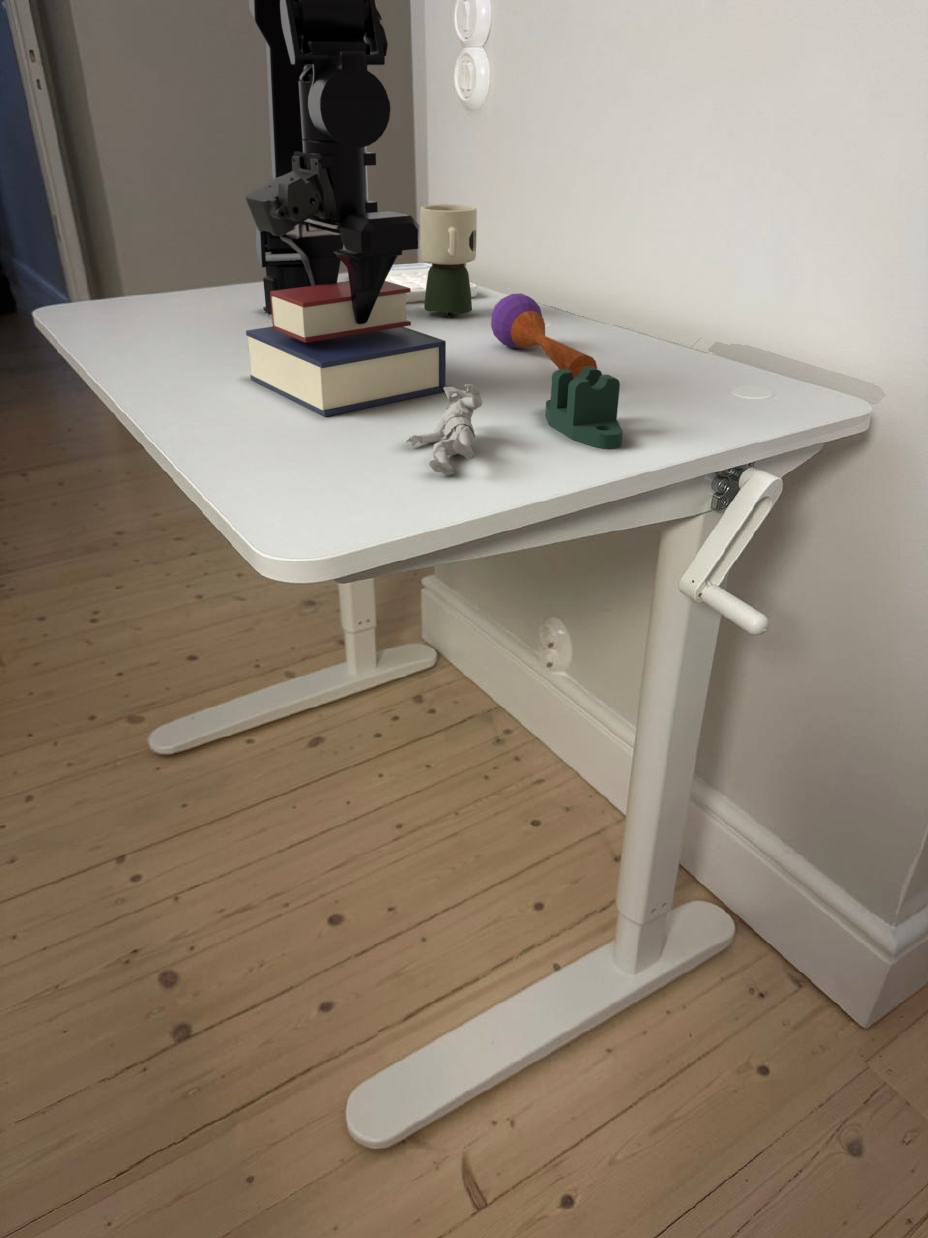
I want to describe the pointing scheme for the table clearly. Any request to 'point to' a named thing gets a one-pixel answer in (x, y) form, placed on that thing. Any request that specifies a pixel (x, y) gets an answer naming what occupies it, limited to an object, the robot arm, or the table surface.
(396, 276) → the calculator
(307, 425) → the table surface
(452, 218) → the character mug
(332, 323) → the small book
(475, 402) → the soldier figure
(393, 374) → the big book
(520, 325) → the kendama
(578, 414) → the mount
